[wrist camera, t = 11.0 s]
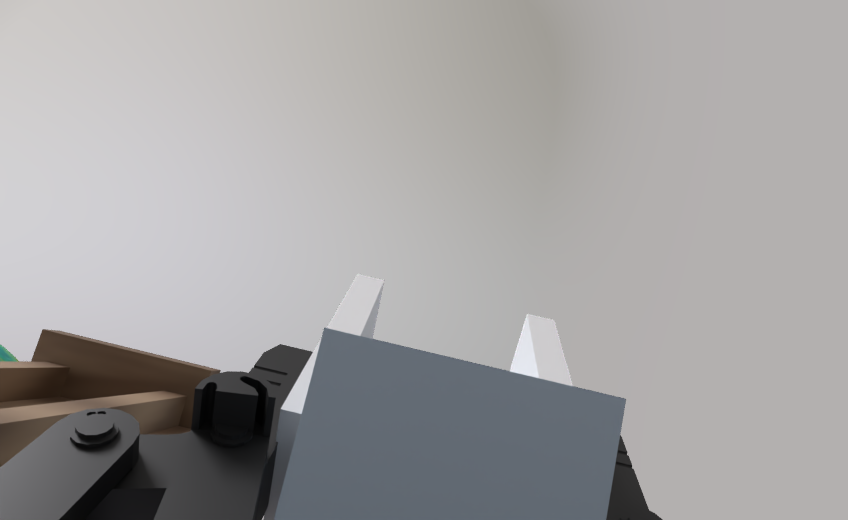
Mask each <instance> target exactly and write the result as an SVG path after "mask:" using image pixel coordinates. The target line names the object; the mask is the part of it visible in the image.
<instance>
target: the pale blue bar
mask: <svg viewBox="0 0 848 520" xmlns="http://www.w3.org/2000/svg"><path fill="white" fill-rule="evenodd" d="M625 402H626V399H624V398H620V397H615V396H612V395H607V394H603V393H599V392H595V391H591V390H586V389H582V388H578V387H574V386H570V385H565V384H561V383H557V382H553V381H548V380H544V379H540V378H536V377H532V376H527V375H523V374H519V373H515V372H510V371H506V370H502V369H497V368H493V367H489V366H485V365H481V364H476V363H472V362H468V361H464V360H459V359H455V358H451V357H447V356H443V355H438V354H434V353H430V352H426V351H421V350H417V349H413V348H409V347H404V346H400V345H396V344H391V343H388V342H384V341H379V340H375V339H371V338H367V337H362V336H358V335H354V334H350V333H346V332H341V331H337V330H333V329H329V328H324V331H323V335H322V338H321V342H320V346H319V350H318V354H317V357H316V361H315V365H314V369H313V373H312V376H311V380H310V384H309V388H308V392H307V395H306V399H305V403H304V407H303V410H302V414H301V418H300V422H299V426H298V429H297V433H296V437H295V441H294V445H293V448H292V452H291V456H290V460H289V464H288V467H287V471H286V475H285V479H284V483H283V486H282V490H281V494H280V498H279V502H278V505H277V509H276V513H275V517H274V520H606V518H607V511H608V505H609V499H610V493H611V487H612V481H613V475H614V469H615V463H616V457H617V451H618V445H619V439H620V432H621V427H622V420H623V414H624V408H625Z"/></svg>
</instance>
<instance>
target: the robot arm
mask: <svg viewBox="0 0 848 520" xmlns="http://www.w3.org/2000/svg"><path fill="white" fill-rule="evenodd" d="M383 285H384V280H382V279H377V278H373V277H369V276H365V275H360V274H357V276H356V278H355V279H354V281H353V283H352V285H351V286H350V288H349V290H348V292H347V293H346V295H345V297H344V299H343V300H342V302H341V304H340V306H339V307H338V309H337V311H336V313H335V314H334V316H333V318H332V320H331V321H330V323H329V325H328V327H327V328H329V329H333V330H337V331H341V332H346V333H350V334H354V335H358V336H362V337H367V338H371V339H372V338H373V333H374V328H375V323H376V318H377V314H378V309H379V304H380V299H381V294H382V289H383ZM321 338H322V337H321ZM320 342H321V339H320V341H319V343H318V344H317V346H316V348H315V349H314V351H313V352H311V351H307V350H302V349H298V348H294V347H290V346H285V345H281V344H280V345H278V346H276V347H274V348H272V349H270V350H268V351H266V352H264V353H263V354H262V356H261V357H260V359H259V360H258V361H257V363H256V364H255V366H254V368H252V369H251V371H250V372H249V373H246V372H223V373H218V374H213V375H211V376H209V377H207V378H205V379H203V380H202V381H201V382H200V383H199V384H198V385H197V387H196V388H195V393H194V403H193V414H192V425H191V431H190V432H186V433H181V434H169V435H156V434H140V429H139V422H138V421H137V420H136V419H135V418H134V417H133V416H132V415H131V414H128V413H126V412H124V411H122V410H117V409H110V408H96V409H86V410H83V411H80V412H76V413H73V414H70V415H68V416H66V417H65V418H63V419H61V420H60V421H58V422H56V423H55V424H54V425H52V426H51V427H50V428H49V429H47V430H46V431H45V432H44V433H43V434H41V435H40V436H39V437H38V438H36V439H35V440H34V441H33V442H31V443H30V444H29V445H28V446H26V447H25V448H24V449H23V450H21V451H20V452H19V453H18V454H16V455H15V456H14V457H13V458H11V459H10V460H9V461H8V462H6V463H5V464H4V465H3V466H1V467H0V520H262V518H263V516H264V520H274V517H275V513H276V509H277V505H278V502H279V498H280V494H281V490H282V486H283V483H284V479H285V475H286V471H287V467H288V464H289V460H290V456H291V452H292V448H293V445H294V441H295V437H296V433H297V429H298V426H299V422H300V418H301V414H302V410H303V407H304V403H305V399H306V395H307V392H308V388H309V384H310V380H311V376H312V373H313V369H314V365H315V361H316V357H317V354H318V350H319V346H320ZM510 372H515V373H519V374H523V375H527V376H532V377H536V378H540V379H544V380H548V381H553V382H557V383H561V384H565V385H570V386H573V384H572V381H571V377H570V374H569V370H568V367H567V363H566V360H565V356H564V353H563V349H562V346H561V342H560V339H559V335H558V332H557V329H556V325H555V321H554V320H552V319H547V318H543V317H539V316H535V315H531V314H527V316H526V319H525V322H524V326H523V329H522V332H521V336H520V339H519V342H518V345H517V349H516V352H515V356H514V359H513V362H512V365H511V368H510ZM606 520H662V519H661V518H660V517H659V516H657V515H656V514H655V513H653V512H651V511H649V509H648V506H647V504H646V501H645V499H644V496H643V493H642V490H641V488H640V485H639V482H638V480H637V477H636V474H635V472H634V469H632V464H631V461H630V459H629V456H628V455H627V451H626V448H625V445H624V442H623V440H622V437H621V435H620V439H619V445H618V451H617V457H616V463H615V469H614V475H613V481H612V487H611V493H610V499H609V505H608V511H607V518H606Z"/></svg>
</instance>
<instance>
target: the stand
mask: <svg viewBox="0 0 848 520" xmlns="http://www.w3.org/2000/svg"><path fill="white" fill-rule="evenodd" d="M218 373H220V370H217V369H213V368H209V367H205V366H201V365H197V364H193V363H189V362H185V361H180V360H177V359H172V358H168V357H164V356H160V355H156V354H152V353H148V352H144V351H140V350H136V349H132V348H128V347H123V346H119V345H115V344H111V343H107V342H103V341H99V340H95V339H91V338H86V337H83V336H79V335H74V334H70V333H66V332H62V331H55V330H45V329H43V330H42V333H41V335H40V338H39V341H38V344H37V347H36V349H35V352H34V355H33V358H32V361H31V362H5V361H0V467H1V466H3V465H4V464H5V463H6V462H8V461H9V460H10V459H11V458H13V457H14V456H15V455H16V454H18V453H19V452H20V451H21V450H23V449H24V448H25V447H26V446H28V445H29V444H30V443H31V442H33V441H34V440H35V439H36V438H38V437H39V436H40V435H41V434H43V433H44V432H45V431H46V430H47V429H49V428H50V427H51V426H52V425H54V424H55V423H56V422H58V421H60V420H61V419H63V418H65V417H66V416H68V415H70V414H73V413H76V412H80V411H83V410H86V409H96V408H110V409H117V410H122V411H124V412H126V413H128V414H131V415H132V416H133V417H134V418H135V419H136V420H137V421H138V422H139V429H140V434H156V435H169V434H181V433H186V432H190V431H191V425H192V414H193V403H194V393H195V388H196V387H197V385H198V384H199V383H200V382H201V381H202V380H203V379H205V378H207V377H209V376H211V375H213V374H218Z"/></svg>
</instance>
